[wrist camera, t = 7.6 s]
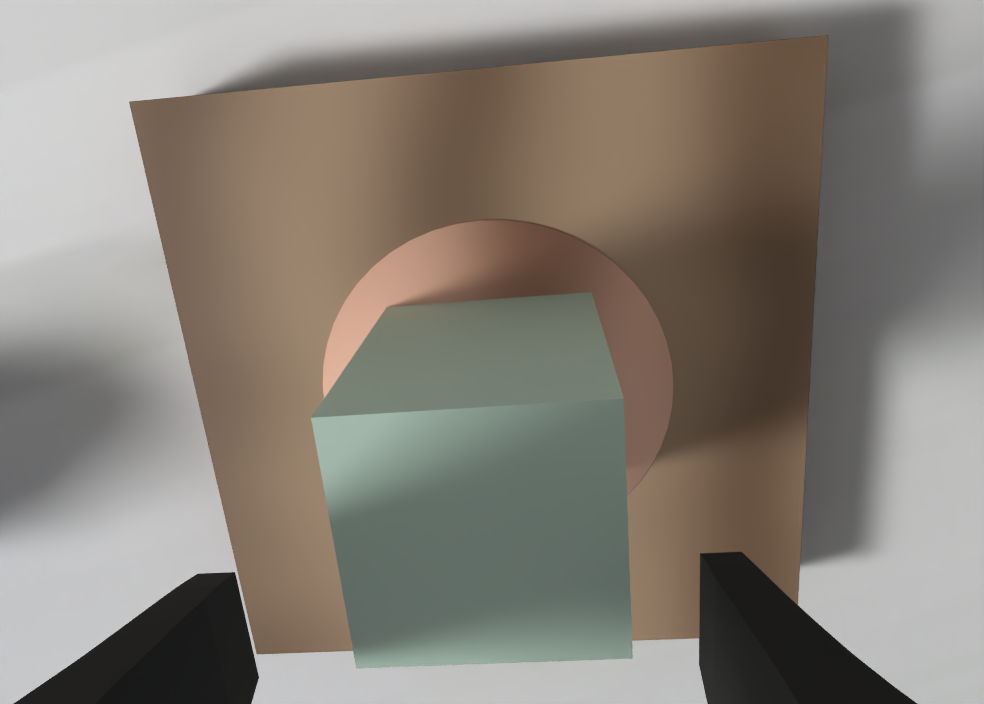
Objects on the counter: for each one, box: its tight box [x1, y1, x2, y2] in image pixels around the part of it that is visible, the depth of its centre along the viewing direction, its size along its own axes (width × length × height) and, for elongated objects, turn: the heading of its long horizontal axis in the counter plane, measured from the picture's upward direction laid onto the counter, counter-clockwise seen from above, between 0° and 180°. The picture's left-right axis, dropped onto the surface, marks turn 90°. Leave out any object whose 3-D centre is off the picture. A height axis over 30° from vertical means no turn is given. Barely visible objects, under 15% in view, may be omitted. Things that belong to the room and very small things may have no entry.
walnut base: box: [129, 35, 828, 654], centre depth 18 cm, size 14×14×3 cm
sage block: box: [311, 292, 633, 668], centre depth 14 cm, size 4×4×6 cm
